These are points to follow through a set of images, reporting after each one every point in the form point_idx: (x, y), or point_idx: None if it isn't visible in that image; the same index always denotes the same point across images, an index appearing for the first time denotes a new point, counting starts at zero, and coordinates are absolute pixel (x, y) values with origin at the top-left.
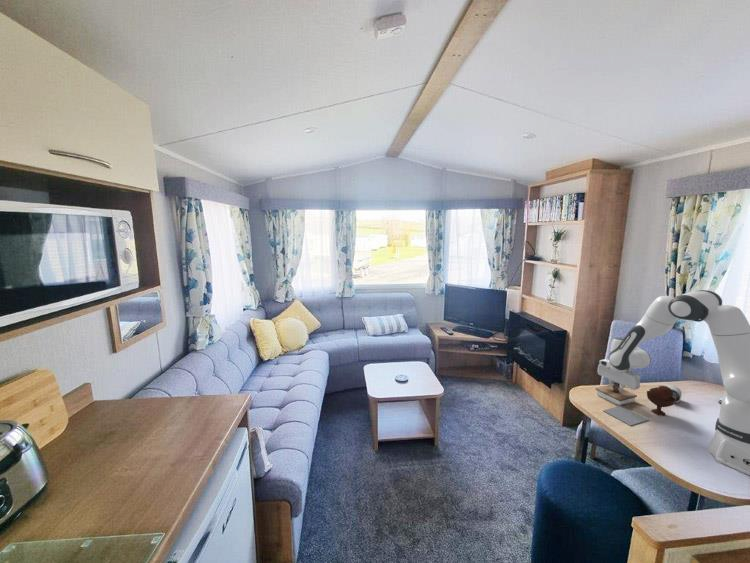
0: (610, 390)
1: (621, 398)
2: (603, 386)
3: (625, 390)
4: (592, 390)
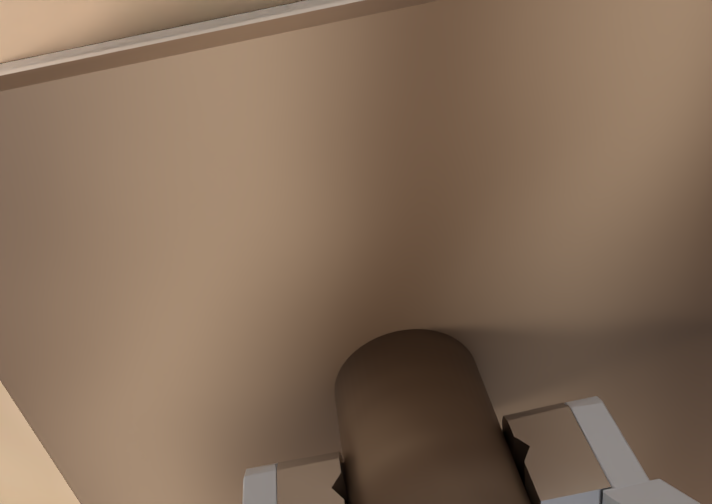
0: (309, 456)
1: (687, 469)
2: (64, 478)
3: (404, 25)
4: (10, 463)
